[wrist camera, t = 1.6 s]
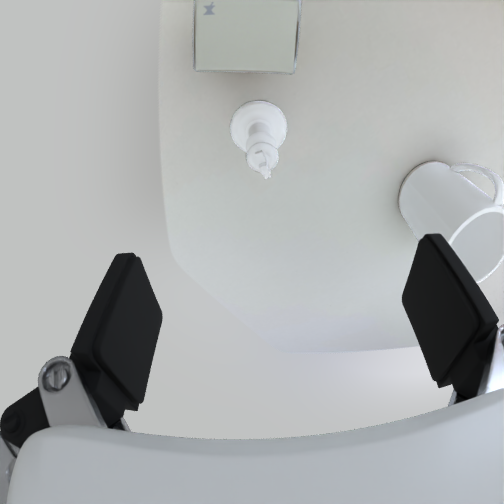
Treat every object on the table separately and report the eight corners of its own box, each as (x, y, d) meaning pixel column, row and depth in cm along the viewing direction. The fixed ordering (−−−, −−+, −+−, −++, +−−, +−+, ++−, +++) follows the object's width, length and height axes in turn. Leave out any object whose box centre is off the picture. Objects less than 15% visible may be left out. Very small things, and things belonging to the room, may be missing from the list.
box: (212, 65, 21) (185, 73, 12) (213, 18, 18) (187, -7, 9) (276, 67, 21) (297, 76, 12) (279, 20, 18) (303, -4, 10)
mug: (440, 233, 31) (482, 292, 23) (382, 221, 30) (421, 287, 22) (475, 152, 24) (535, 199, 16) (416, 127, 24) (481, 170, 15)
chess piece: (242, 160, 26) (239, 217, 18) (221, 112, 23) (206, 146, 15) (294, 143, 25) (316, 193, 17) (276, 93, 22) (292, 116, 14)
